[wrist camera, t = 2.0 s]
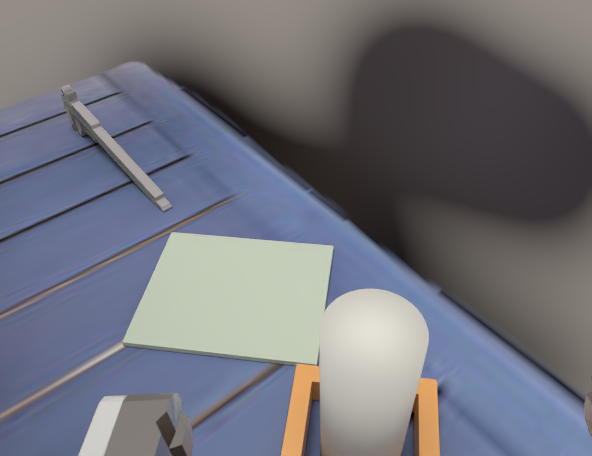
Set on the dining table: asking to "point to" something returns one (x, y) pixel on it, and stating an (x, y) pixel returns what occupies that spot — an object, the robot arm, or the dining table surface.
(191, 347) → the mat
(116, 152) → the caliper
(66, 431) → the dining table surface
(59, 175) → the dining table surface
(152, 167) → the dining table surface
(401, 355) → the tall white pillar
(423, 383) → the orange square frame
